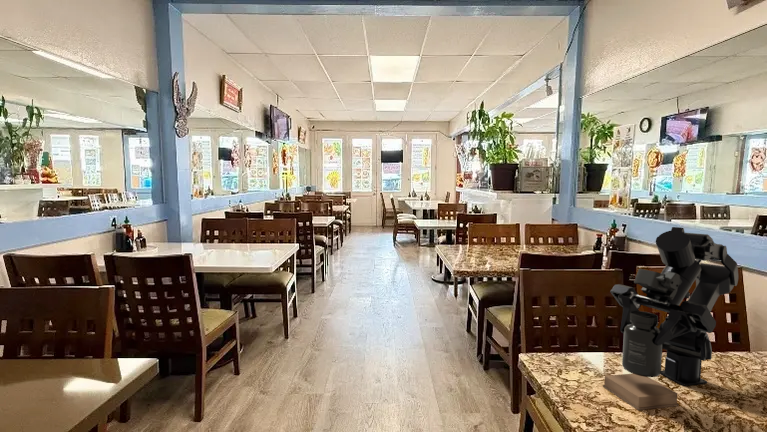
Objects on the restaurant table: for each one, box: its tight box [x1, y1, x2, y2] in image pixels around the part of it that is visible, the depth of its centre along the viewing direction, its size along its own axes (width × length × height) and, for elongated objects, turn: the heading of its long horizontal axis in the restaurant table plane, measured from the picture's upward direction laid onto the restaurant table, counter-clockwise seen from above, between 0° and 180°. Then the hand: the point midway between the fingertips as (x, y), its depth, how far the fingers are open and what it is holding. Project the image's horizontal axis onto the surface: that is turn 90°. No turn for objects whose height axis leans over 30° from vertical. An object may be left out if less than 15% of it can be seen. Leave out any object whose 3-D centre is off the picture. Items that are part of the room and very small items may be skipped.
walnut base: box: [602, 373, 679, 411], centre depth 83 cm, size 9×9×2 cm
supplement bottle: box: [621, 310, 663, 378], centre depth 82 cm, size 7×7×12 cm
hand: (638, 337), depth 82 cm, fingers closed on supplement bottle, 7 cm apart
